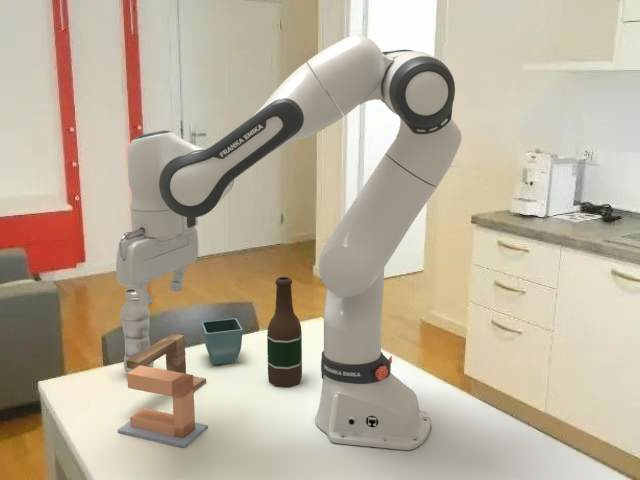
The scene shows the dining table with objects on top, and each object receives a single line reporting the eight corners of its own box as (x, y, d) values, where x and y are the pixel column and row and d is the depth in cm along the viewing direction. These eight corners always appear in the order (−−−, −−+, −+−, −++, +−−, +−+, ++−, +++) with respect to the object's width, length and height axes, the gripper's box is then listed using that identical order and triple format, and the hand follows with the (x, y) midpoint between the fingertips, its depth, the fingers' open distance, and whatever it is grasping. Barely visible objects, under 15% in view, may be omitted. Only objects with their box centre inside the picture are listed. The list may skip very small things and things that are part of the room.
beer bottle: (280, 370, 152) (279, 271, 147) (308, 378, 148) (308, 276, 143) (261, 383, 146) (258, 280, 141) (290, 391, 142) (288, 285, 137)
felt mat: (207, 427, 126) (207, 425, 126) (184, 448, 119) (184, 445, 119) (143, 414, 132) (143, 411, 132) (117, 432, 124) (117, 429, 124)
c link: (195, 428, 125) (192, 374, 122) (183, 438, 121) (180, 383, 119) (143, 417, 129) (140, 365, 127) (130, 426, 126) (126, 373, 123)
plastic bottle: (150, 379, 148) (144, 295, 143) (120, 379, 148) (114, 294, 143) (157, 367, 154) (152, 286, 150) (129, 367, 154) (123, 286, 150)
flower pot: (202, 355, 161) (200, 321, 159) (237, 351, 164) (236, 317, 162) (207, 369, 153) (205, 333, 151) (244, 365, 156) (243, 329, 154)
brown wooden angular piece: (206, 382, 146) (204, 333, 144) (156, 419, 129) (153, 365, 127) (168, 375, 150) (166, 327, 147) (115, 411, 133) (111, 357, 130)
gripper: (135, 236, 105) (140, 317, 108) (202, 215, 124) (206, 284, 127) (103, 233, 108) (109, 313, 111) (174, 213, 126) (178, 281, 129)
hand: (161, 297), depth 119 cm, fingers open, 8 cm apart
